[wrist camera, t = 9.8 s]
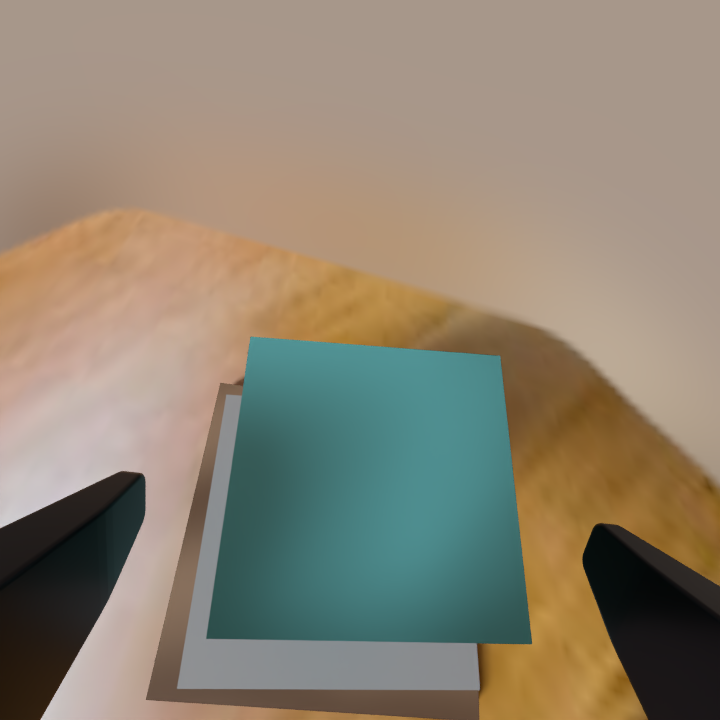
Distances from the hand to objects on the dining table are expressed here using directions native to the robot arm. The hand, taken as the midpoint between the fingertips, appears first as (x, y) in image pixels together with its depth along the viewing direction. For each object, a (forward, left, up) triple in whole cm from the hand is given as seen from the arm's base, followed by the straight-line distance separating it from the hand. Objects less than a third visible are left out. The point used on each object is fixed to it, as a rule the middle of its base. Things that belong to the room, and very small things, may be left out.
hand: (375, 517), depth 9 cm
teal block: (0, -1, -9) cm, 9 cm away
